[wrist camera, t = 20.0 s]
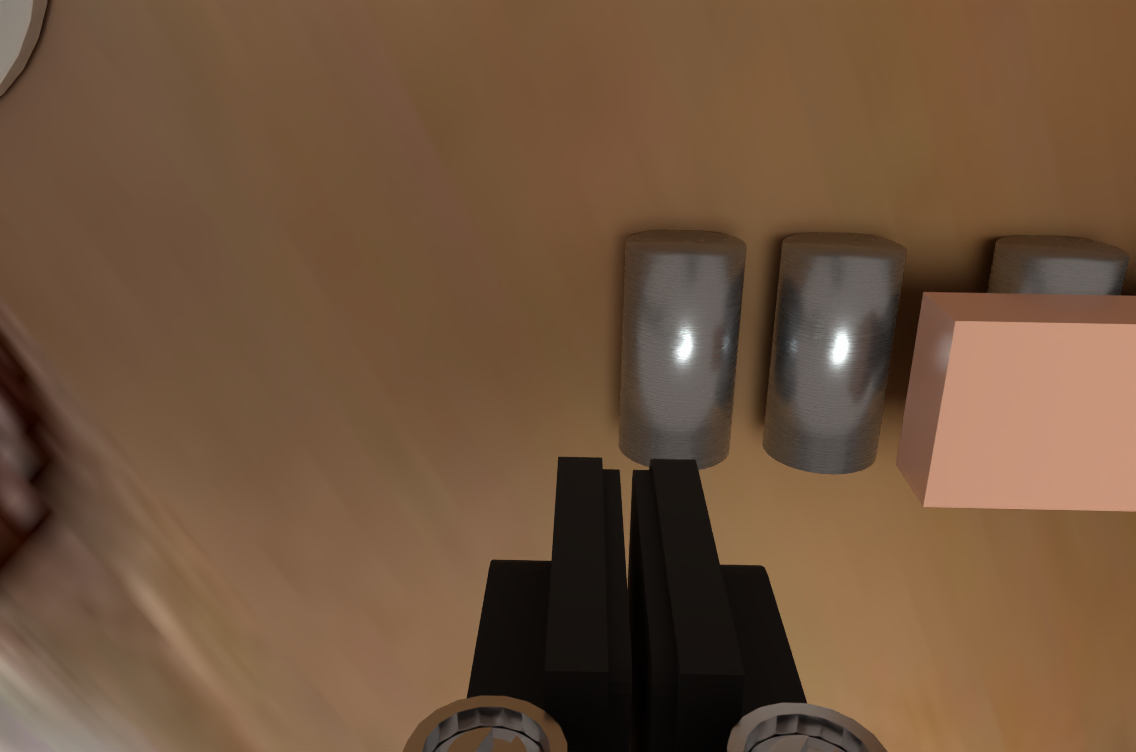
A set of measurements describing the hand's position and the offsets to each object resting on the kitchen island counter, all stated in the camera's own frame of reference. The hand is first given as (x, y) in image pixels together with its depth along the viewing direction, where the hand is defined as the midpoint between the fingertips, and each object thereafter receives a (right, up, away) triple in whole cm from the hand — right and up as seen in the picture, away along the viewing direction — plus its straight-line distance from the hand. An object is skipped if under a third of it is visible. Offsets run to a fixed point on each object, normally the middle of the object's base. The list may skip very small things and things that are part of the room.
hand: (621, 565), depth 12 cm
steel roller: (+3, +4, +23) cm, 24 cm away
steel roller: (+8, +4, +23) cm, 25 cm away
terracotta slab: (+15, +2, +19) cm, 24 cm away
